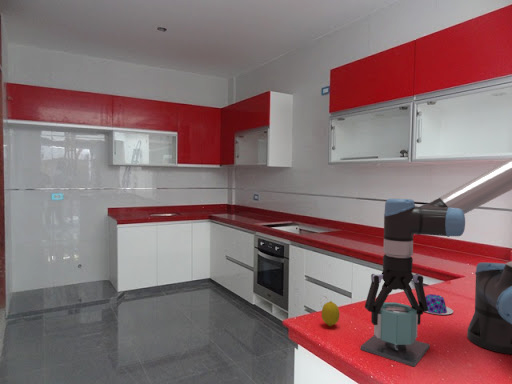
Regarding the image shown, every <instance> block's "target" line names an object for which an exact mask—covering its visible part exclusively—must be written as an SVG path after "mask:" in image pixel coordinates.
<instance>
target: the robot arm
mask: <svg viewBox="0 0 512 384" xmlns="http://www.w3.org/2000/svg"><path fill="white" fill-rule="evenodd" d="M510 191H512V158H510V159H508V160H506V161H504V162H503V163H500V164H499V165H497V166H495V167H493V168H491V169H490V170H488V171H487V172H484V173H482V174H479V176H477V177H474V178H473V179H471V180H469V181H467V182H465V183H463V184H462V185H459V186H458V187H456V188H455V189H453V190H451V191H449V192H447V193H446V194H443V195H441V196H440V197H438V198H437V199H434V200H433V201H431V202H428V203H425V204H422V205H420V206H418V205H417V206H416V204H415V201H414V199H411V198H410V199H409V198H388V199H387V200H386V201H385V203H384V212H383V250H382V251H383V253H384V254H383V256H382V258H383V259H382V272H381V273H380V274H379V273H378V274H375V273H372V274H371V276H370V278H371V279H370V280H371V281H370V282H371V283H370V287H369V290H368V293H367V296H366V297H367V298H366V300H365V304H364V308H365V310H366V311H368V312H370V313H371V318H370V319H371V324H372V325H373V326H374V327H373V336H374V335H375V336H376V337H377V338H381V314H380V313H379V311H380V309H381V307H382V306H383V304H384V302H386V300H387V298H388V296H389V295H390V294H391V292H393V291H394V290H395V291H396V290H401V291H403V292H404V294H405V296H406V298H407V300H408V302H409V304H410V306H411V307H412V308H414V309H415V310H417V313H416V339H417V338H418V326H420V325H421V317H422V315H423V314H424V312H425V311H427V312H428V306H427V302H426V293H425V288H424V276H423V275H420V274H419V273H415V274H413V272H412V271H413V260H414V259H413V257H412V256H413V254H414V235H421V236H422V235H424V236H425V235H427V236H437V237H439V236H440V237H447V238H448V237H460V236H463V234H464V233H465V228H466V215H465V214H468V213H469V212H472V211H473V210H475V209H477V208H479V207H481V206H482V205H485V204H487V203H489V202H490V201H492V200H494V199H496V198H498V197H500V196H502V195H504V194H506V193H508V192H510ZM475 267H476V269H475V272H474V274H475V295H474V296H475V298H474V313H473V315H472V318H471V320H470V321H469V324H468V326H467V332H466V333H467V335H466V336H467V337H466V338H467V339H468V340H469V341H470V342H471V343H472V344H475V345H477V346H478V347H481V348H482V349H486V350H490V351H492V352H495V353H496V352H497V353H499V354H500V353H501V354H506V355H507V354H508V355H512V260H510V261H509V262H506V263H501V262H487V261H486V262H483V261H481V262H478V263H477V264H476V266H475ZM382 281H384V283H383V284H382V287H381V289H380V291H379V287H380V284H381V282H382ZM412 281H413V284H414V289H415V290H414V291H415V295H416V297H417V299H416V297H415V295H414V292H413V289H412V287H411V285H410V283H411V282H412ZM378 291H379V293H378ZM418 304H419V305H418Z"/></svg>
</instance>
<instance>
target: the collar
mask: <svg viewBox="0 0 512 384" xmlns="http://www.w3.org/2000/svg"><path fill="white" fill-rule="evenodd" d="M387 306H400V307H403V308H405V309H407V313H396V312H392V311H388V310H386V307H387ZM379 313H380V314H381V338H380V339H381V340H383V341H386V342H389V343H392V344H396V345H411V344H412V343H413V342H414V341H415V340H416V339H417V338H416V313H417V310H415V309H414V308H412V306H411V305H409V304H404V303H400V302H394V301H393V302H392V301H391V302H386V301H385V302H384V304H383V306H382V307H381V309H380V311H379ZM416 341H417V340H416Z"/></svg>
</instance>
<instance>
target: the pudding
mask: <svg viewBox="0 0 512 384" xmlns="http://www.w3.org/2000/svg"><path fill="white" fill-rule="evenodd" d="M425 297H426V302H427V306H428V311H424V312H425V313H428V314H433V315H434V314H435V315H440V316H441V315H450V314H453V313H454V310H453V309H452V308H450V307H449V306H446V301H445V298H444V297H443V296H441V295H438V294H430V293H429V294H425ZM418 305H419V303H418Z"/></svg>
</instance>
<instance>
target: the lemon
mask: <svg viewBox="0 0 512 384" xmlns="http://www.w3.org/2000/svg"><path fill="white" fill-rule="evenodd" d="M321 319H322V321H323V322H324V323H325V324H326V325H328V327H332V326H333V325H336V324H337V323H338V322H339V319H340V310H339V307H338V305H337V304H336V303H335V302H333V301H332V300H330V301H328V302H325V303H324V305H323V306H322V309H321Z"/></svg>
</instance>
